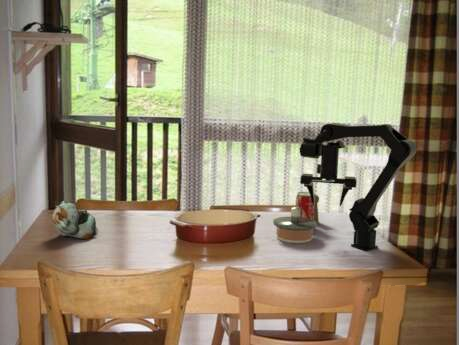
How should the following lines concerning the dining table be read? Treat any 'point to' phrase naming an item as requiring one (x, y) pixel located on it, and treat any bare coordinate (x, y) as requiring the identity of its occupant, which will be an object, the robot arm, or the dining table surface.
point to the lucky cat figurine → (74, 221)
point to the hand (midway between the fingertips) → (326, 204)
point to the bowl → (294, 235)
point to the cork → (316, 209)
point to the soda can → (305, 205)
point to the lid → (295, 221)
